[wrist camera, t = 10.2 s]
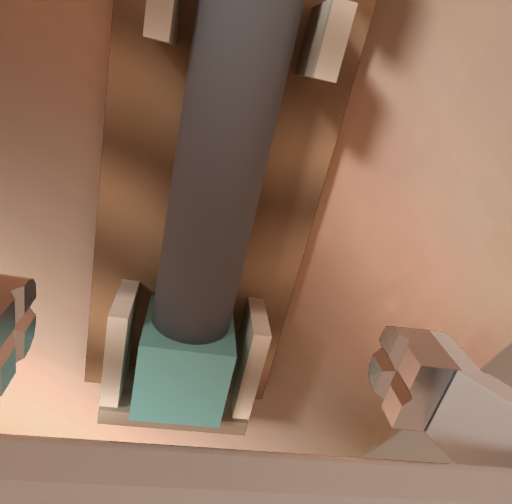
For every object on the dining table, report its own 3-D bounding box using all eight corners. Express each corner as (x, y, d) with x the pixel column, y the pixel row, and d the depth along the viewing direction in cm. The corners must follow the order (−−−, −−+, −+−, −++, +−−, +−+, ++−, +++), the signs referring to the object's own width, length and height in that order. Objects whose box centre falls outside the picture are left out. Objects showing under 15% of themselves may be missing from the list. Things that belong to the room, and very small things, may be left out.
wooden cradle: (135, -214, 17) (108, -312, 13) (404, -121, 19) (464, -176, 15) (88, 371, 29) (65, 429, 24) (260, 389, 31) (268, 445, 26)
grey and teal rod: (219, -187, 17) (222, -276, 12) (336, -147, 18) (378, -216, 13) (141, 360, 28) (128, 420, 23) (217, 369, 28) (219, 428, 24)
